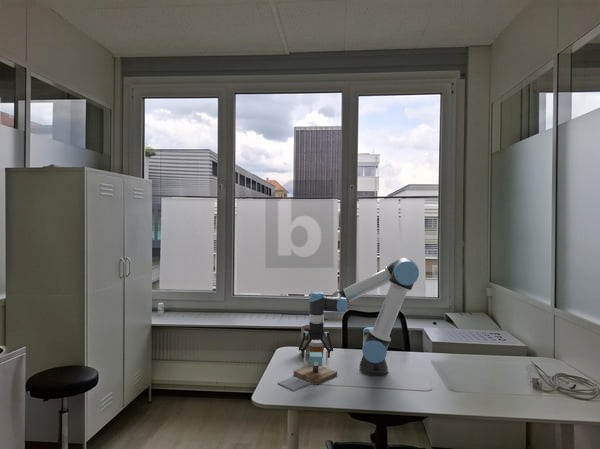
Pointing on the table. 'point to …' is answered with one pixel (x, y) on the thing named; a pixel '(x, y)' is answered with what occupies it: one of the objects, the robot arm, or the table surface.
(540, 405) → the table surface
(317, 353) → the teal matte cube
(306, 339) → the coffee box
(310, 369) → the brown square board
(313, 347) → the disposable coffee cup
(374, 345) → the robot arm
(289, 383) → the mat
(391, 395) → the table surface
